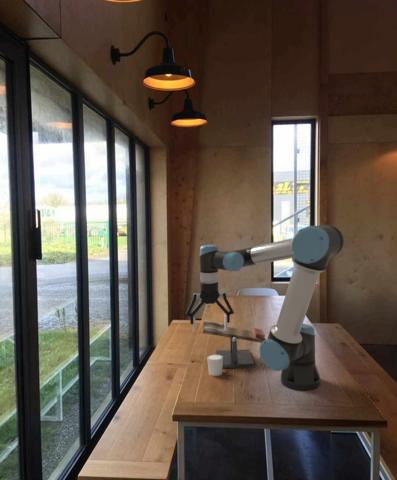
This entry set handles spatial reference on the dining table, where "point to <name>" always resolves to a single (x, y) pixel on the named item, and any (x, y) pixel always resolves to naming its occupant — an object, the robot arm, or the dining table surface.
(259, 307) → the dining table surface
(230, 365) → the stand
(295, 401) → the dining table surface
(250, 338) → the beam
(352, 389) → the dining table surface
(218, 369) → the shot glass
